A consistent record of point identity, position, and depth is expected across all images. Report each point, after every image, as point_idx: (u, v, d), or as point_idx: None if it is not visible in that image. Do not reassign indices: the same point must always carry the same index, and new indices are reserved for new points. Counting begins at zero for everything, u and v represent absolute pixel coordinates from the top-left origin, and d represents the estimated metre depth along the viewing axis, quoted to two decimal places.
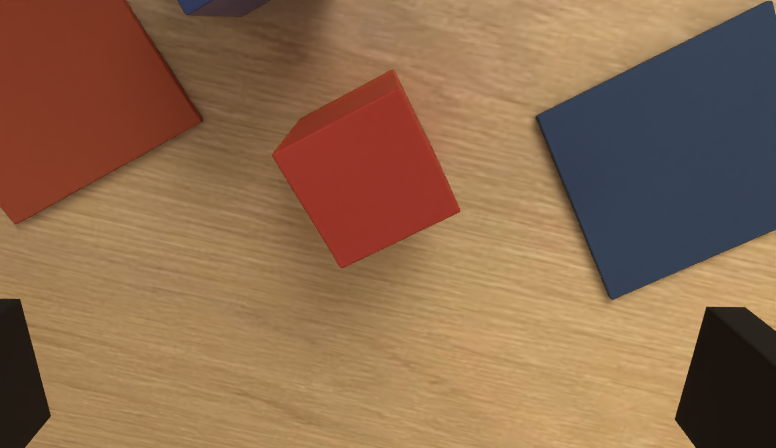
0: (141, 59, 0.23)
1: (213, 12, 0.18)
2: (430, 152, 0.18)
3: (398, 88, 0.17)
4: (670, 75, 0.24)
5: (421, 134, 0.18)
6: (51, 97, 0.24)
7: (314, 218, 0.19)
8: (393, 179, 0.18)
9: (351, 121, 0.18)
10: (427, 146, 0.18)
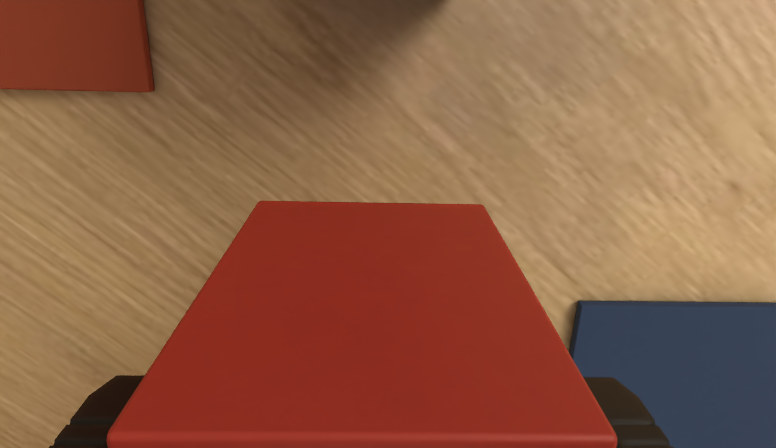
0: None
1: None
2: None
3: (613, 438, 0.05)
4: (744, 332, 0.19)
5: None
6: None
7: None
8: None
9: None
10: None
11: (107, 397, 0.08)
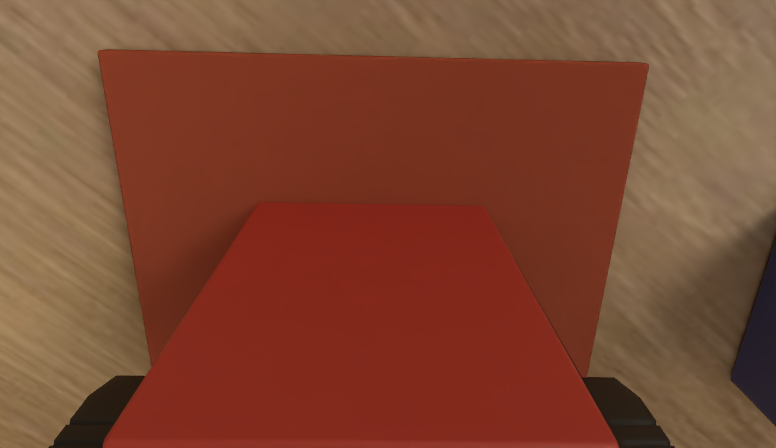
0: None
1: None
2: None
3: (615, 446, 0.05)
4: None
5: None
6: None
7: None
8: None
9: None
10: None
11: (107, 397, 0.08)
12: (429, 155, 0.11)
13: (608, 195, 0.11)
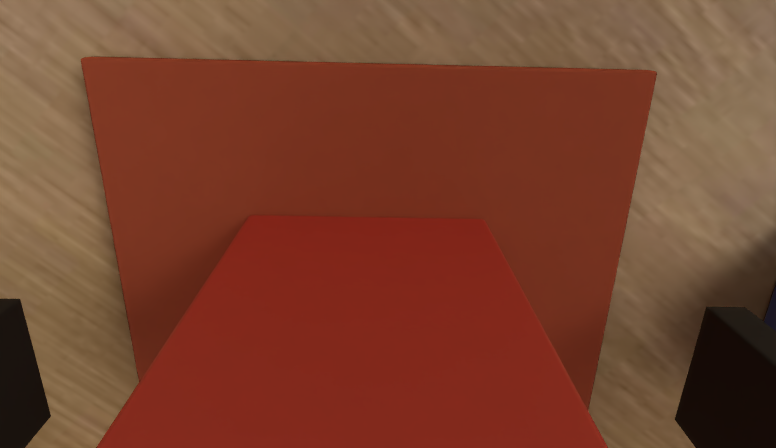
0: None
1: None
2: None
3: None
4: None
5: None
6: None
7: None
8: None
9: None
10: None
11: None
12: (429, 167, 0.11)
13: (614, 207, 0.11)
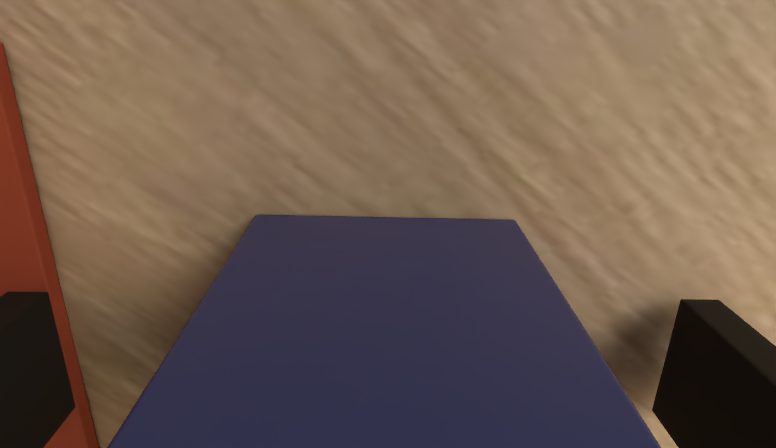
0: None
1: None
2: None
3: None
4: None
5: None
6: None
7: None
8: None
9: None
10: None
11: None
12: None
13: (8, 205, 0.09)
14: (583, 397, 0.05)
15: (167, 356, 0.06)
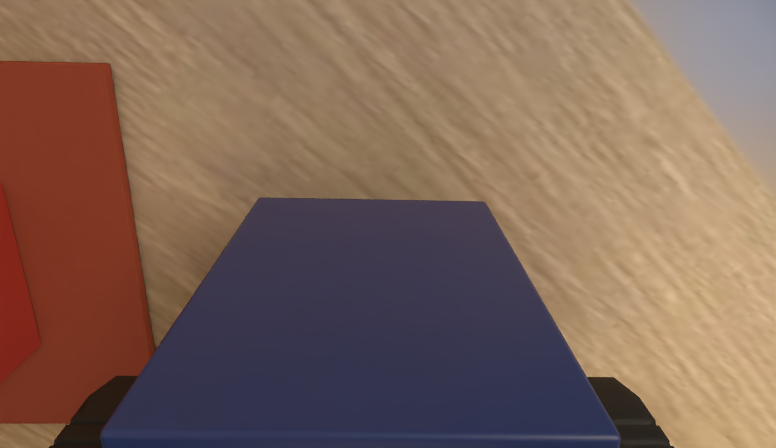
0: (120, 328, 0.15)
1: None
2: None
3: None
4: None
5: None
6: None
7: None
8: None
9: None
10: None
11: (107, 397, 0.08)
12: None
13: (107, 174, 0.14)
14: (521, 326, 0.07)
15: (191, 299, 0.07)
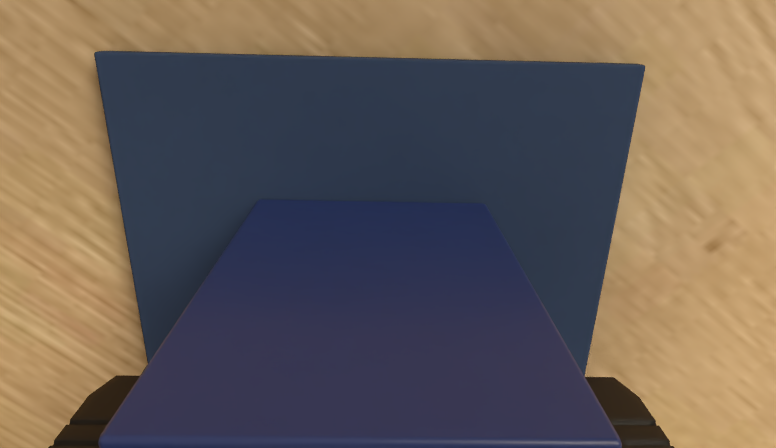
0: None
1: None
2: None
3: None
4: (402, 111, 0.11)
5: None
6: None
7: None
8: None
9: None
10: None
11: (107, 397, 0.08)
12: None
13: None
14: (521, 329, 0.07)
15: (190, 302, 0.07)
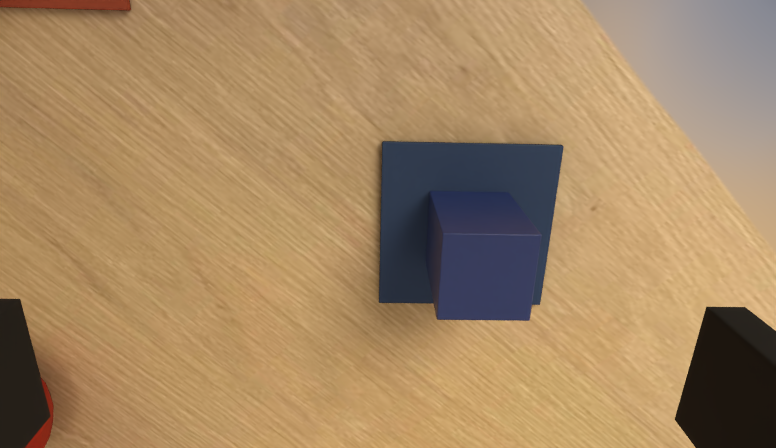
0: None
1: None
2: None
3: None
4: (482, 161, 0.32)
5: None
6: None
7: None
8: None
9: None
10: None
11: None
12: None
13: None
14: (522, 220, 0.28)
15: (437, 215, 0.28)
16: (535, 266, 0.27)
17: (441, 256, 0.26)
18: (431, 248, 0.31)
